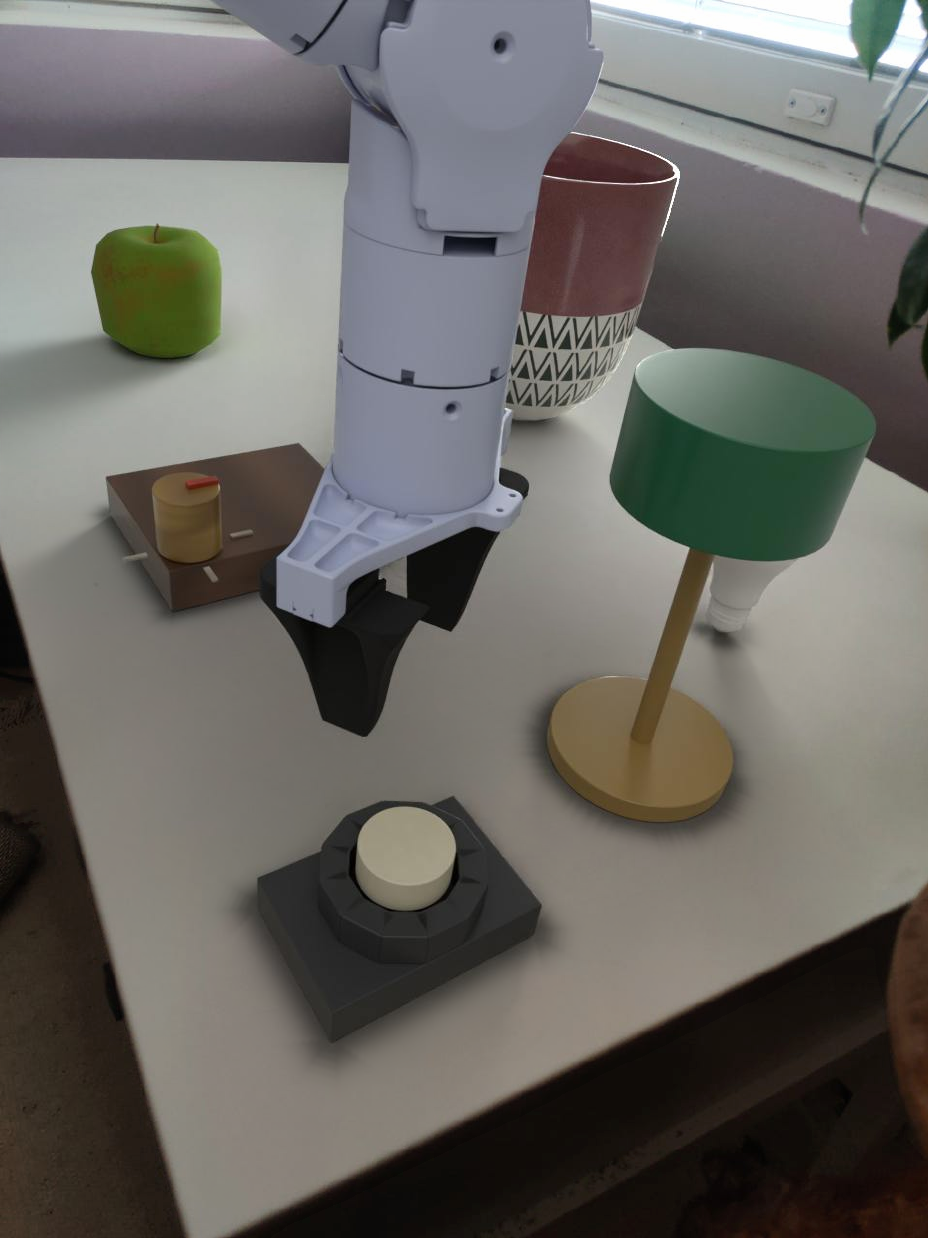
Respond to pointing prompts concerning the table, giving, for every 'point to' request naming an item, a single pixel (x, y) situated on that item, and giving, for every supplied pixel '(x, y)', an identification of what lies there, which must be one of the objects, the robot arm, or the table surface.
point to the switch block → (390, 922)
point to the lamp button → (405, 858)
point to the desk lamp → (705, 552)
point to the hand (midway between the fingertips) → (393, 668)
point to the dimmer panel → (250, 514)
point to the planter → (586, 271)
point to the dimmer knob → (187, 517)
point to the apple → (158, 289)
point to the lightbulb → (738, 589)
